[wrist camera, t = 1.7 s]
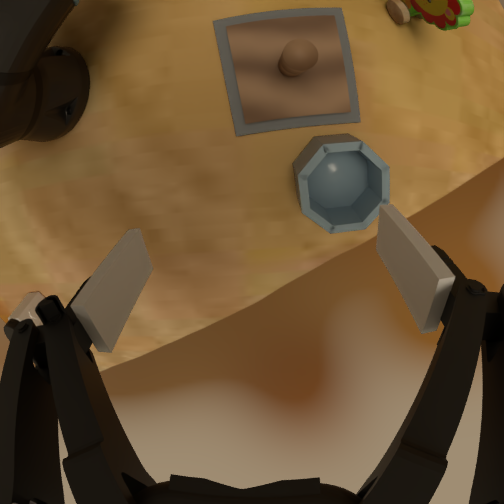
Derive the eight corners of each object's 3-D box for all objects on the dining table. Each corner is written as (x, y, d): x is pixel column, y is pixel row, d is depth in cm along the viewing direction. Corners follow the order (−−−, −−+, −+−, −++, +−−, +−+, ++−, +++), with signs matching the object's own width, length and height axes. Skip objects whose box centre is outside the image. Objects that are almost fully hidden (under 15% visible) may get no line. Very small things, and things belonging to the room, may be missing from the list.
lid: (227, 28, 27) (211, 2, 17) (332, 17, 25) (358, -9, 16) (245, 123, 33) (238, 135, 24) (348, 111, 32) (381, 120, 22)
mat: (213, 21, 27) (212, 21, 26) (340, 8, 25) (341, 7, 24) (236, 135, 35) (236, 136, 34) (359, 121, 33) (360, 122, 32)
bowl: (289, 139, 35) (293, 147, 30) (370, 132, 33) (388, 139, 28) (299, 216, 40) (304, 237, 35) (373, 208, 39) (388, 226, 34)
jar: (60, 310, 53) (35, 348, 43) (51, 323, 56) (28, 358, 46) (32, 284, 50) (4, 319, 40) (25, 299, 53) (0, 332, 43)
